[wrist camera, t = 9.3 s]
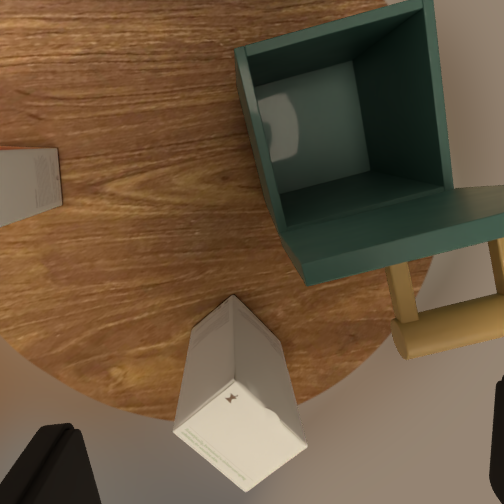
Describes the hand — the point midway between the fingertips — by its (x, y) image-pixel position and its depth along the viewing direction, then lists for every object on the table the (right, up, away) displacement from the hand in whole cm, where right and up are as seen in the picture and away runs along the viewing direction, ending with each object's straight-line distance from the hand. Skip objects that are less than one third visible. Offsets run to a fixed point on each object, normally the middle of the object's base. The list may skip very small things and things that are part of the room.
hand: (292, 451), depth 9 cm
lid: (+6, +6, +9) cm, 13 cm away
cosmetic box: (-2, -5, +34) cm, 34 cm away
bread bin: (+4, +16, +28) cm, 33 cm away
